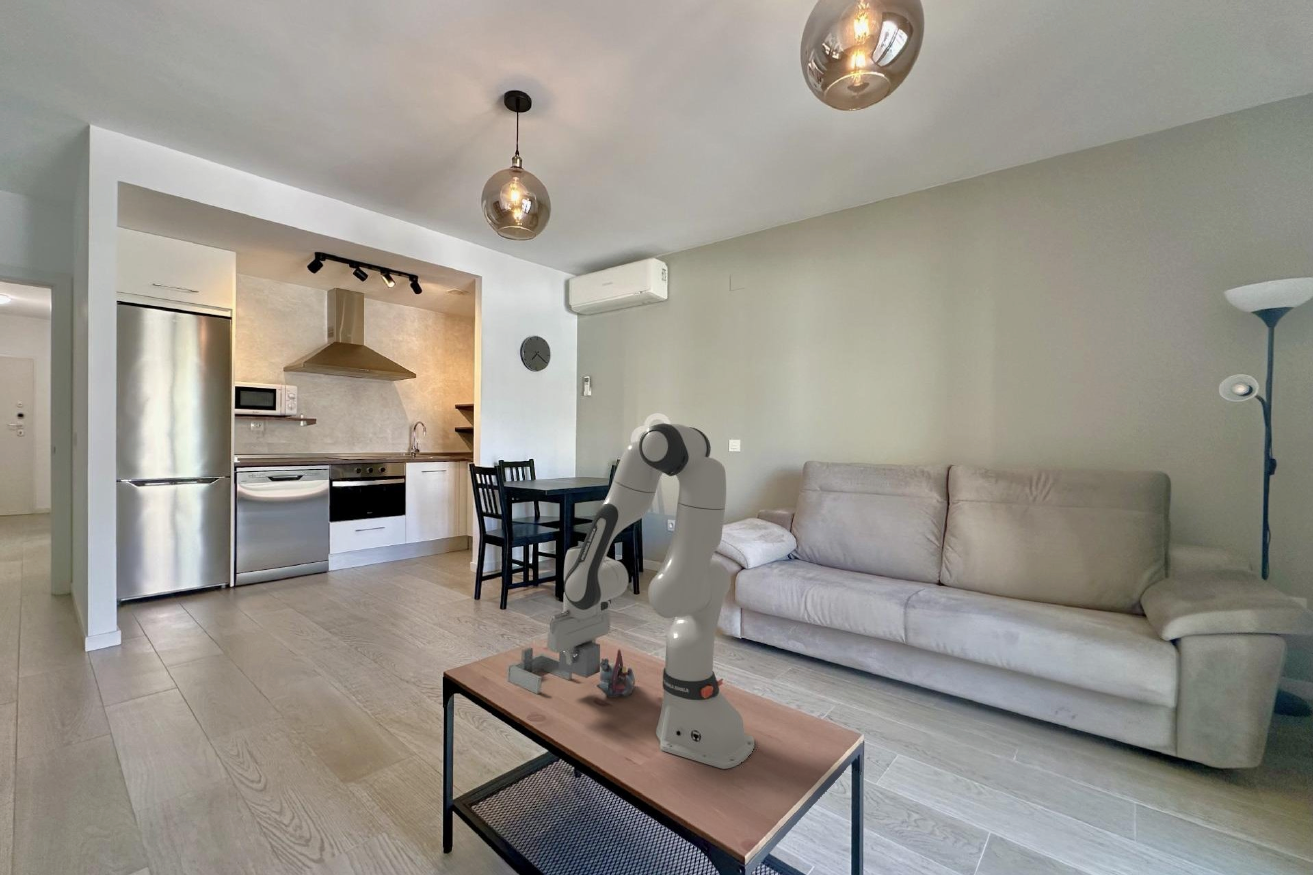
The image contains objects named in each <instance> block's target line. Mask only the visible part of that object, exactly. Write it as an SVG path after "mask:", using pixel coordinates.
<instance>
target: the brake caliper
mask: <svg viewBox="0 0 1313 875" xmlns="http://www.w3.org/2000/svg"><path fill="white" fill-rule="evenodd" d="M609 662H610V661H609V659H608V658H601V661H600V672H599V673H600V677H599V678H600V683H598V684H596V687H597V688H598V689H599V690H600V691H601V692H602V693H604V695H605V696H606V697H609V698H615V697H624V698H625V697H629V696H630V695H631V693H632V692H633V690H634V686H635V685H636V678H635V676H634V671H633V669H632V668H631V667H628V668H627V671H626V673H623V672H622V669H623V666H624V661H623V656H622V651H621V649H618V650H617V654H616V660H615V662H613V663H611V662H610V663H609Z"/></svg>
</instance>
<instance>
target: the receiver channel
mask: <svg viewBox="0 0 1313 875" xmlns="http://www.w3.org/2000/svg"><path fill="white" fill-rule="evenodd" d="M533 649H534V648H533V647H530V646H529V647H527V648H524V649H522V650H521V660H520V661H517V662H514V663H512V664H509V665H507V675H506V678H507V679H506V680H507V681H508V682H510V683H512V684H514V685H516V686H519V687H521V688H523V689H524V690H525V689H526V690H528V691H530V692H532V693H534V694H536V695H539V694H540V693H542V676H540V675H537V674H534V673H535V672H538V671H540V670H543V671H545V672H547V673H550V674H552V675H555V676H557V677H560V678H562V679H565V680H566V681H570V680H572V677H573V676H572V674H573V673H570V672H567V671H564V670H562V669H559V659H558V658H556V657H553V656H550V655H549V654H545V653H543V652H542V653H539V654H536V655H533V652H534V650H533Z"/></svg>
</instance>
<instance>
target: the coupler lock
mask: <svg viewBox="0 0 1313 875" xmlns="http://www.w3.org/2000/svg"><path fill="white" fill-rule="evenodd" d="M558 654H559V669H562V670H564V671H567V672H570V673H572V674H574V675H576V676H579V677H583V678H586V679H587V678H590V677H592V676H594V675H597V674H598V673H600V672H601V666H600V663H601V644H599V643H597V642H596V643H593V642H589V641H588V642H585V643H583V644H580V645H577V646H575V647H573V648H572V652H571V654H572V656H575V663H573V664H571V665H569V664H567V663H566V656H565V654H564V652H563V651H562V652H559V653H558Z"/></svg>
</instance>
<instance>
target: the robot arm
mask: <svg viewBox="0 0 1313 875" xmlns="http://www.w3.org/2000/svg"><path fill="white" fill-rule="evenodd" d="M711 448H712V447H711V443H710V440H709V438H708V436H707V435H706V434H705V433H704V432H703V431H701V430H699V429H698V428H695V427H691V426H686V425H684V424H679V423H664V422H663V423H657V424H654V425H652V426H650V427H648V428H647V429H646V430H645V431H644V432H642V434H641V437H640V439H639V440H637V441H633V442H630V443H629V444H628V445H627V446H626V448H625V450H624V451H623V454H622V456H621V458H620V460H619V462H618V465H617V467H616V470H615V473H614V477H613V479H612V483H611V486H610V489H609V491H608V493H607V496H606V497H605V500H604V501H603V503H602V505H601V506H600V507H599V508H598V510H597V512H595V513H596V514H595V515H594V518H592V522H591V523H590V526H589V529H588V531H587V533H586V536H585V539H584V541H583V544H582V545H577V546H572V547H570V548H569V549H567V551H566V554H565V558H564V564H563V566H564V567H563V590H564V592H563V606H562V607H563V609H562V610H563V611H562V612H557V613H555V614H554V615H553V617H551V619H550V621H549V626H548V632H547V639H546V647H547V649H548V651H550V652H552V653H556V654H559V652H562V651H563V652H564V654H565V656H566V663H567V664H569V665H571V664H573V663H575V656H572V654H571V652H572V648H573V647H575V646H577V645H580V644H583V643H585V642H588V641H589V642H593V643H596V644H597V639H598V638H601V637H603V636H606V635H608V634H609V632H610V631H611V630H610V629H611V611H610V608H611V602H610V600H612V599H614V598H616V597H617V598H618V597H619V596H621V595H623V594H624V593H625V592H626V591H627V589H628V587H629V582H630V581H629V580H630V578H629V576H630V575H629V572H628V570H627V568H626V565H624V564H623V563H622V562H621V561H619V560H616V559H613V558H610V557H608V556H607V554H608V552H609V549H610V546H611V544H612V542H613V541H614V539H615V538H616V537H617V535H618V534H620V533H621V532H622V531H623V530H624V529H626V528H628V527H629V526H630V525H632V524H634V523H635V522H637V521H639V520H641V519H642V518H643V517H645V516H646V515H647V513H648V512H649V510H650V509H651V506H652V504H653V503H654V502H653V501H654V499H655V495H656V491H657V488H658V485H659V482H660V479H661V478H662V477H661V476H662V474H665V475H667V476H669V477H674V476H676V477H677V480H678V485H679V486H678V488H679V489H678V497H677V505H676V510H675V520H674V525H673V526H674V528H673V534H672V536H671V541H670V544H669V547H668V550H667V552H666V555H665V558H664V559H663V563H662V565H661V566H660V569H659V571H658V572H657V573H656V574H655V576H654V577H653V578H652V579H651V581H650V583H649V585H648V589H647V590H648V591H647V596H648V602H649V604H650V607H651V608H652V610H653V611H654V612H655V613H656V614H657V615H659V616H660V617H661V618H663V619H674V620H673V623H672V624H671V626H670V628H669V630H668V632H667V634H666V638H665V662H664V663H665V664H664V669H663V672H662V688H663V697H662V703H661V704H662V705H661V709H660V710H661V711H660V713H659V714H660V715H659V719H658V722H657V725H656V728H655V734H656V737H657V739H658V740H659V742H660V743H659V749H660V750H661V751H663V752H666V753H670V754H673V755H676V756H679V757H682V758H685V759H690V760H693V761H696V762H699V763H702V764H705V765H709V766H713V767H716V768H719V769H722V770H726V769H732V768H734V767H736V766H738V765H740V764H742V763H743V762H744V761H746V760H747V759H748V758H749V757H750V756H751V755H752V753H753V752H754V750H753V749H755V739H754V737H753V736H751V735H749V734H747V733H746V732H745V726H744V721H743V717H742V715H741V713H740V711H738V710H737V709H736V708H735V707H734V706H733V705H732V704H731V702H730V701H729V700H728V699H727V698H726V696H725V695H724V694H723V693H722V692H721V691H720V686H722V685H723V680H724V678H721V679H719V680H717V677H716V674H715V672H714V653H715V652H714V651H715V637H716V631H717V627H718V623H719V620H720V616H721V612H722V607H723V604H724V601H725V599H726V596H727V595H728V593H729V592H730V591H729V590H730V589H731V584H732V578H731V574H730V572H729V570H728V569H727V567H726V566H725V564H724V563H721V562H720V561H718V560H715V559H712V558H713V556H714V554H715V552H716V550H717V549H718V547H719V545H720V544H721V542H722V536H723V529H724V520H725V511H726V510H725V509H726V502H727V477H726V469H725V467H724V465H723V464H722V463H721V462H720V460H717V459H715V458H713V457H710V455H711V451H712V450H711ZM752 751H753V752H752ZM750 754H751V755H750ZM749 755H750V756H749ZM748 756H749V757H748ZM741 762H742V763H741Z"/></svg>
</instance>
